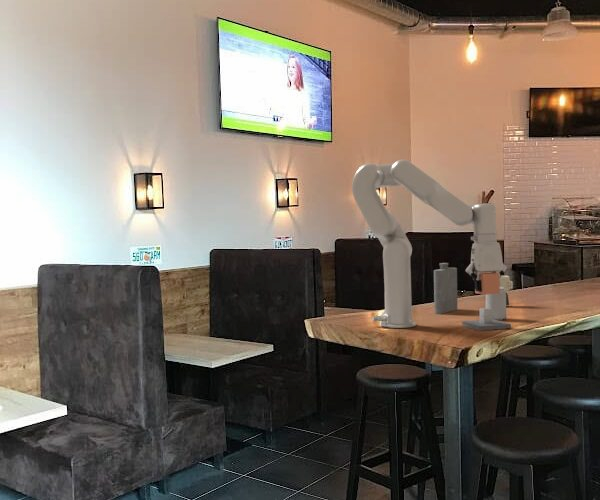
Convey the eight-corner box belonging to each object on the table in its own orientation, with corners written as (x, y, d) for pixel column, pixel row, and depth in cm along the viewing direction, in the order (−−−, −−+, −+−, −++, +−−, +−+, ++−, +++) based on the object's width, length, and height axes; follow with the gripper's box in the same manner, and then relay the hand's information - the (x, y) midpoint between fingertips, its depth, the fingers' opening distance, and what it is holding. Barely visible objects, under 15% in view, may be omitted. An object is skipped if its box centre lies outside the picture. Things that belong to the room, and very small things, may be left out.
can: (491, 321, 237) (491, 288, 237) (482, 318, 245) (481, 286, 244) (510, 320, 239) (509, 287, 238) (500, 317, 246) (499, 286, 246)
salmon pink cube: (483, 294, 221) (483, 274, 221) (475, 293, 227) (474, 273, 227) (499, 293, 222) (498, 273, 222) (490, 291, 228) (489, 272, 228)
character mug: (517, 306, 274) (517, 276, 273) (508, 308, 269) (507, 277, 268) (494, 304, 282) (494, 274, 281) (485, 306, 277) (485, 276, 277)
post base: (479, 330, 218) (478, 311, 218) (462, 325, 230) (461, 307, 230) (510, 328, 221) (510, 309, 221) (492, 323, 233) (492, 305, 232)
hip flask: (440, 314, 258) (439, 264, 257) (431, 313, 260) (430, 264, 260) (458, 309, 270) (458, 261, 269) (450, 308, 272) (449, 261, 272)
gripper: (467, 240, 218) (470, 293, 219) (513, 237, 222) (515, 289, 223) (457, 240, 226) (459, 291, 226) (501, 237, 230) (503, 288, 230)
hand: (487, 290), depth 225 cm, fingers closed on salmon pink cube, 6 cm apart
